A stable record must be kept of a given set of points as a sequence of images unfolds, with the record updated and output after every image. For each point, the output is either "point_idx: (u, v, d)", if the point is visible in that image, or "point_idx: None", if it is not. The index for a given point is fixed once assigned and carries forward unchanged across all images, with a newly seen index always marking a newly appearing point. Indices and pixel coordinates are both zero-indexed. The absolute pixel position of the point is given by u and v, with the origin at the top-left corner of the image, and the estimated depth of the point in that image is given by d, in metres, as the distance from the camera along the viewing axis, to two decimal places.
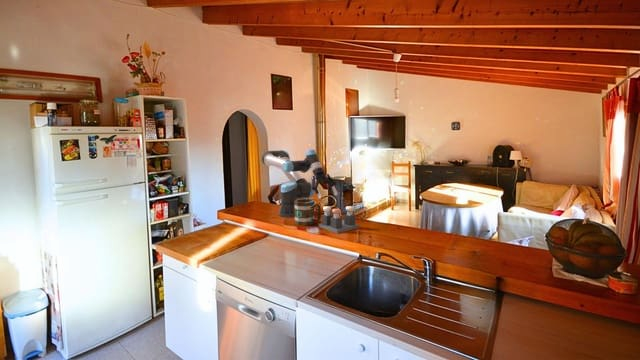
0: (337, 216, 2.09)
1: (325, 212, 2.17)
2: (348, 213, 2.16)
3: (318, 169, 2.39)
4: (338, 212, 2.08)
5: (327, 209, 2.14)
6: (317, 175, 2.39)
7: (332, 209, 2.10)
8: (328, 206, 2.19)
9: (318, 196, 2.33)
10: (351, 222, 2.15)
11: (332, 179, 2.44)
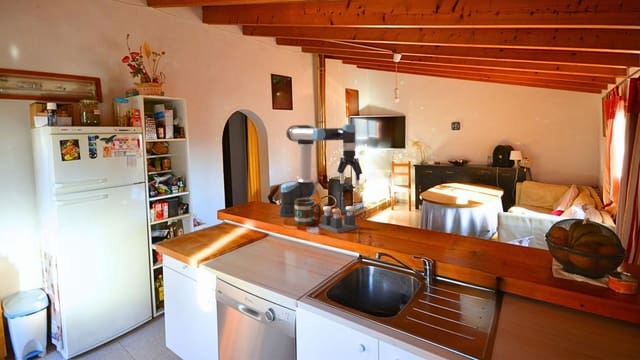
0: (337, 216, 2.09)
1: (325, 212, 2.17)
2: (348, 213, 2.16)
3: (343, 152, 2.11)
4: (338, 212, 2.08)
5: (327, 209, 2.14)
6: (345, 157, 2.14)
7: (332, 209, 2.10)
8: (328, 206, 2.19)
9: None
10: (351, 222, 2.15)
11: (357, 166, 2.06)
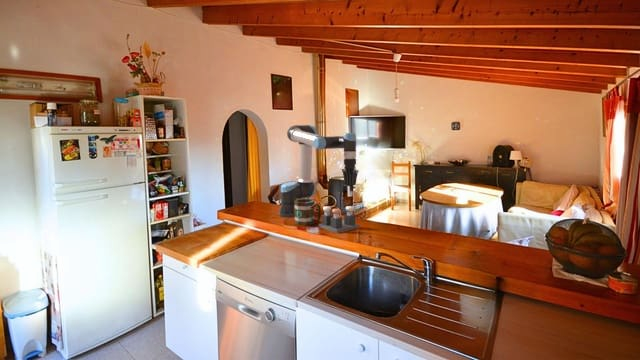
0: (337, 216, 2.09)
1: (325, 212, 2.17)
2: (348, 213, 2.16)
3: (344, 161, 2.11)
4: (338, 212, 2.08)
5: (327, 209, 2.14)
6: (345, 166, 2.14)
7: (332, 209, 2.10)
8: (328, 206, 2.19)
9: None
10: (351, 222, 2.15)
11: (353, 178, 2.09)
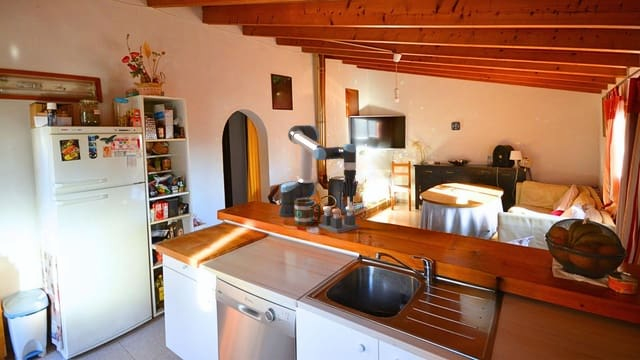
0: (337, 216, 2.09)
1: (325, 212, 2.17)
2: (348, 213, 2.16)
3: (344, 172, 2.12)
4: (338, 212, 2.08)
5: (327, 209, 2.14)
6: (345, 177, 2.15)
7: (332, 209, 2.10)
8: (328, 206, 2.19)
9: None
10: (351, 222, 2.15)
11: (353, 189, 2.10)
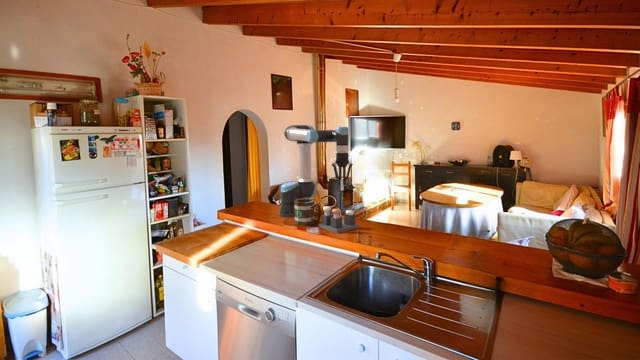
0: (337, 216, 2.09)
1: (325, 212, 2.17)
2: None
3: (338, 155, 2.09)
4: (338, 212, 2.08)
5: (327, 209, 2.14)
6: (337, 160, 2.12)
7: (332, 209, 2.10)
8: (328, 206, 2.19)
9: None
10: (351, 222, 2.15)
11: (348, 172, 2.11)
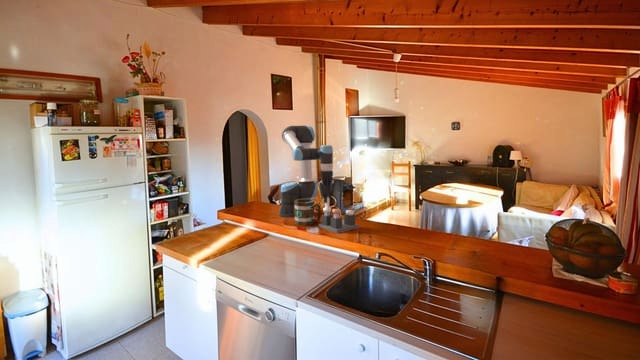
0: (337, 216, 2.09)
1: (325, 213, 2.17)
2: None
3: (328, 173, 2.10)
4: (338, 212, 2.08)
5: (327, 210, 2.14)
6: (324, 178, 2.12)
7: (332, 209, 2.10)
8: None
9: (325, 205, 2.17)
10: (351, 222, 2.15)
11: (333, 188, 2.17)
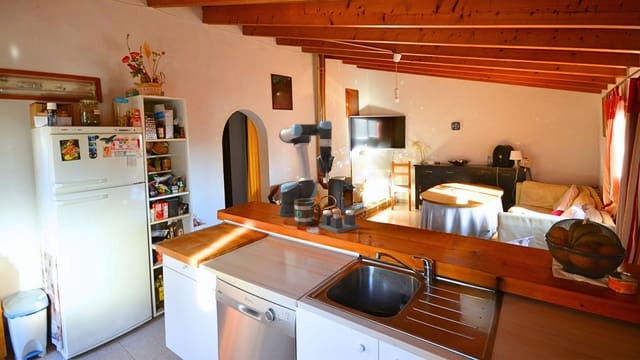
0: (337, 216, 2.09)
1: None
2: None
3: (326, 148, 2.14)
4: (338, 212, 2.08)
5: (327, 213, 2.15)
6: (323, 154, 2.16)
7: (332, 209, 2.10)
8: (328, 210, 2.19)
9: (323, 180, 2.21)
10: (351, 222, 2.15)
11: None
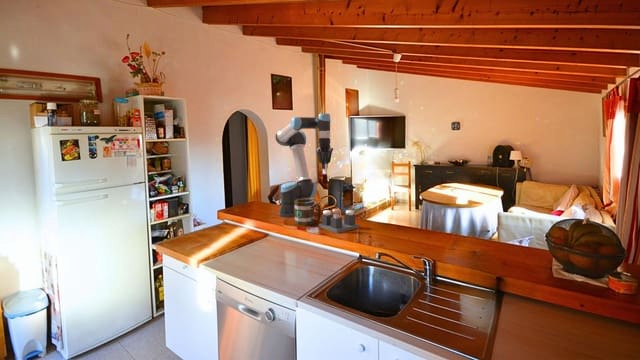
0: (337, 216, 2.09)
1: None
2: None
3: (325, 140, 2.22)
4: (338, 212, 2.08)
5: (327, 213, 2.15)
6: (322, 145, 2.23)
7: (332, 209, 2.10)
8: (328, 210, 2.19)
9: (323, 171, 2.28)
10: (351, 222, 2.15)
11: (330, 155, 2.28)
